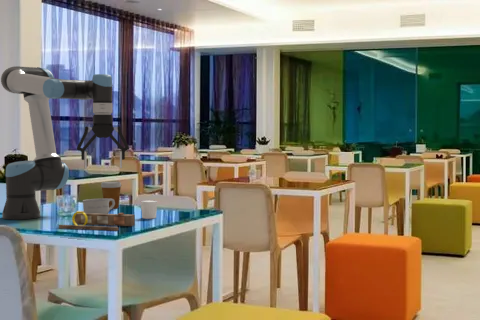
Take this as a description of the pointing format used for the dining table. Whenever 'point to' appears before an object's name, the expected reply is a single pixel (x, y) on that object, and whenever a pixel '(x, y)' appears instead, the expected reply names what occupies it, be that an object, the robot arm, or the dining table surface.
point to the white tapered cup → (149, 209)
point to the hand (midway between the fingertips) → (103, 168)
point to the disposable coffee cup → (111, 192)
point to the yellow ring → (83, 214)
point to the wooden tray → (102, 221)
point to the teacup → (98, 205)
